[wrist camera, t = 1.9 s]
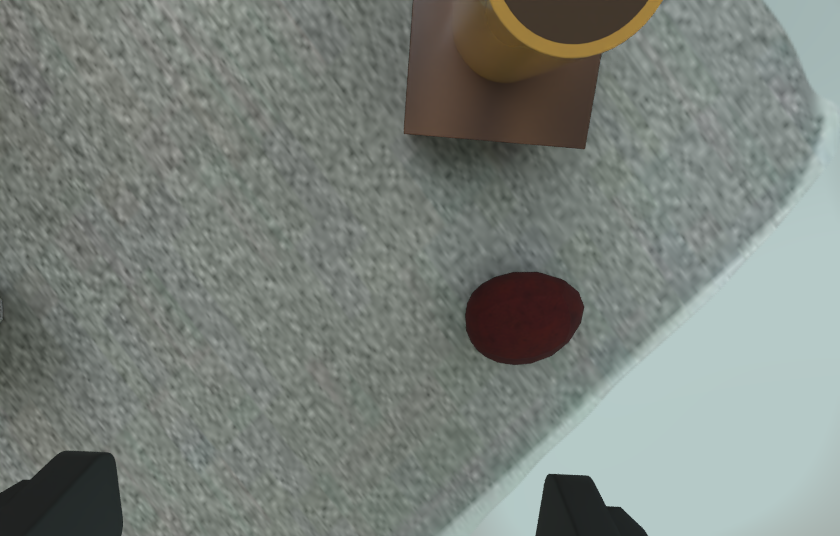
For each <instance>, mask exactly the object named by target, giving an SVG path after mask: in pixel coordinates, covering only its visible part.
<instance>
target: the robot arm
mask: <svg viewBox="0 0 840 536" xmlns="http://www.w3.org/2000/svg"><path fill="white" fill-rule="evenodd" d="M122 528H123V516H122V508H121V501H120V493H119V485H118V477H117V469H116V462H115V459H114V457H113V455H112V454H111V453H108V452H87V451H63V452H61V453H59V454H57V455H56V456H55V457H54V458H53V459H52V460H51V461H50V462H49V463H48V464H46V465H45V466H44V467H43V468H42V469H41V470H40V471H39V472H38V473H37V474H36V475H35V476H34V477H33V478H32V479H31V480H22V481H20V482H18V483H17V484H15V485H13V486H12V487H10V488H8V489H6V490H5V491H3V492H1V493H0V536H121V534H122ZM536 536H648V535H647V534H646V532H645V530H644V529H643V528H642V527H641V526H640V525H639V524H638V523H637V522H636V521H635V520H633V519H632V518H631V517H630V516H629V515H628V514H627V513H626V512H625V511H624V510H623V509H622V508H621V507H609V506H606V505H605V503H604V501H603V499H602V497H601V495H600V493H599V491H598V489H597V488H596V486H595V483H594V482H593V480H592V479H591V477H589V476H583V475H561V474H548V475H547V477H546V479H545V483H544V488H543V494H542V500H541V507H540V512H539V518H538V524H537V530H536Z"/></svg>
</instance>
